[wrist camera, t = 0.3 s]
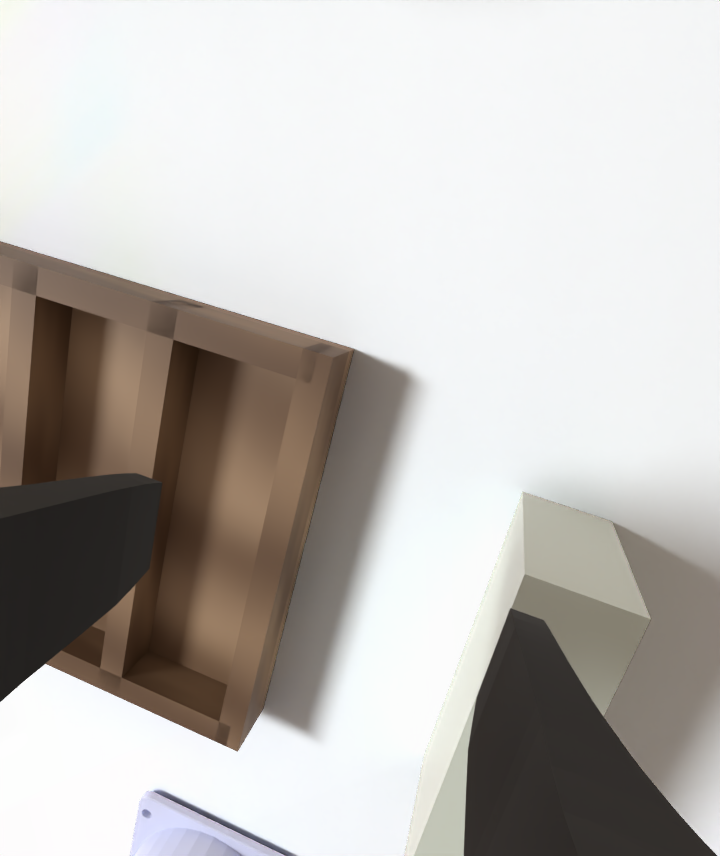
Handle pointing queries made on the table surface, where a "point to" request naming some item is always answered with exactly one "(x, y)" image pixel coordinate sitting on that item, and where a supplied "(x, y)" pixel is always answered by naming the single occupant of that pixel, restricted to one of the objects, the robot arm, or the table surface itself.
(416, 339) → the table surface
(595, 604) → the clay strip
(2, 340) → the strip rack
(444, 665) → the table surface
